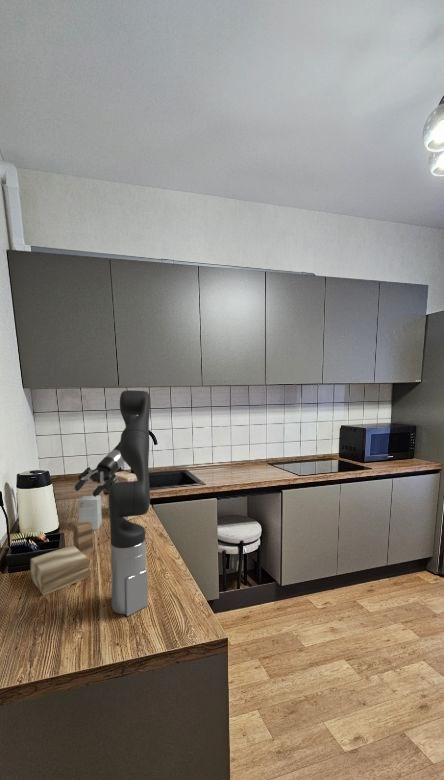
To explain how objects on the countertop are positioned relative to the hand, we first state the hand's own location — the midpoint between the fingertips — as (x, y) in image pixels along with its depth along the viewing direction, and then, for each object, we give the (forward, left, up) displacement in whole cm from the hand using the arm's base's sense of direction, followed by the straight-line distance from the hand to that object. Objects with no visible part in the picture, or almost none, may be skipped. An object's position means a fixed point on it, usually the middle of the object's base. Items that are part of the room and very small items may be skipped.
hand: (84, 492), depth 122 cm
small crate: (-1, +1, -21) cm, 21 cm away
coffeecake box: (+21, -28, -22) cm, 41 cm away
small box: (+19, -10, -22) cm, 30 cm away
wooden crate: (-13, +13, -21) cm, 28 cm away
